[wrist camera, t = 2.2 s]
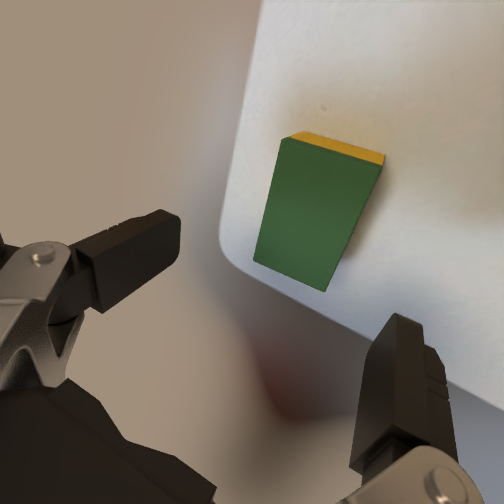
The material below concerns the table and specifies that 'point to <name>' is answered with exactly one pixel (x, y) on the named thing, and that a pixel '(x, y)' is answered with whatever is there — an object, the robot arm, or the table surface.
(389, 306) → the table surface
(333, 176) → the sponge
